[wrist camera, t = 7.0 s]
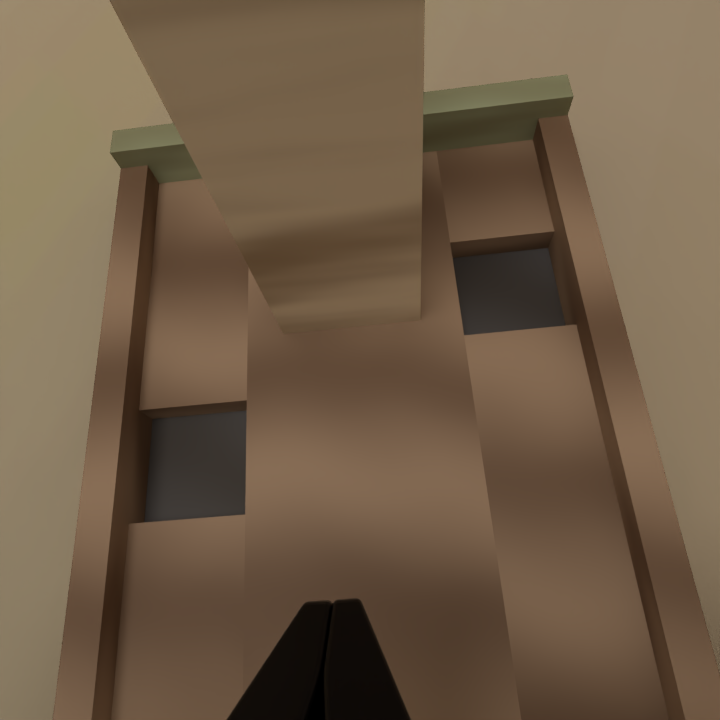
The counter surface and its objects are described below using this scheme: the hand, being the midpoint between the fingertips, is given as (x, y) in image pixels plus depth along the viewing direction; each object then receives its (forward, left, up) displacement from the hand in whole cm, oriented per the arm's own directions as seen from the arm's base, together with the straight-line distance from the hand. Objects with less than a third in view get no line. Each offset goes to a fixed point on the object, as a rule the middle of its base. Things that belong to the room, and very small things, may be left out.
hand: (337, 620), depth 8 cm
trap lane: (+5, -4, -9) cm, 11 cm away
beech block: (+9, -6, -7) cm, 14 cm away
